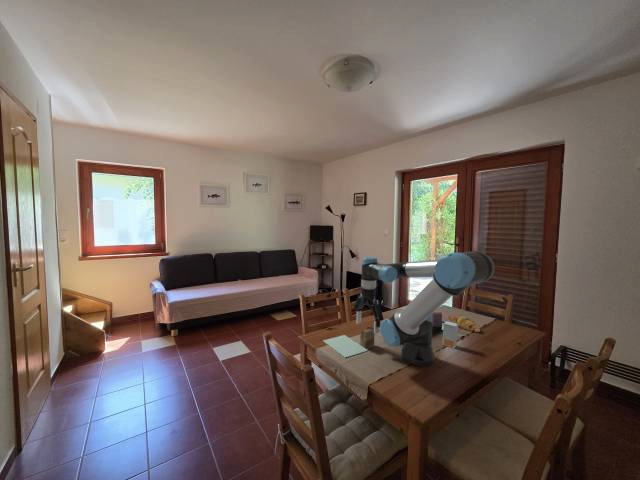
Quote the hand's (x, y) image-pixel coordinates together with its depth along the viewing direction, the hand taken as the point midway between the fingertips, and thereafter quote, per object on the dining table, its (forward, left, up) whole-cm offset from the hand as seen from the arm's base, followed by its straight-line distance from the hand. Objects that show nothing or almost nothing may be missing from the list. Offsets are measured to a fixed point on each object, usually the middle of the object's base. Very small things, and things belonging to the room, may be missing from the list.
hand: (367, 327), depth 139 cm
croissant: (-10, -68, -10) cm, 70 cm away
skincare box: (-21, -38, -10) cm, 45 cm away
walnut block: (0, 0, -10) cm, 10 cm away
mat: (+6, +10, -10) cm, 15 cm away
